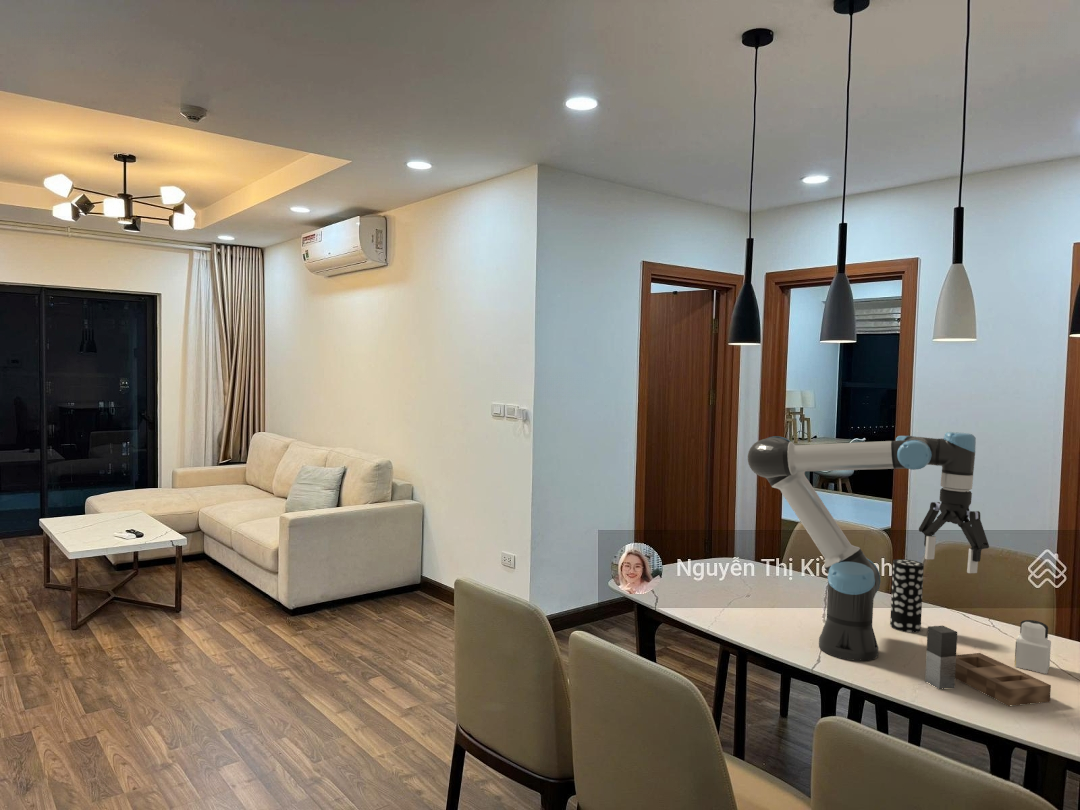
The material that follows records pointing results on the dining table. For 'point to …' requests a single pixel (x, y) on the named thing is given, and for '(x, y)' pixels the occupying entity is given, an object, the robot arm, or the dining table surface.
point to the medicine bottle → (1033, 647)
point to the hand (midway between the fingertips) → (950, 565)
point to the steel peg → (941, 657)
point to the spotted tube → (906, 595)
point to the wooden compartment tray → (1000, 680)
